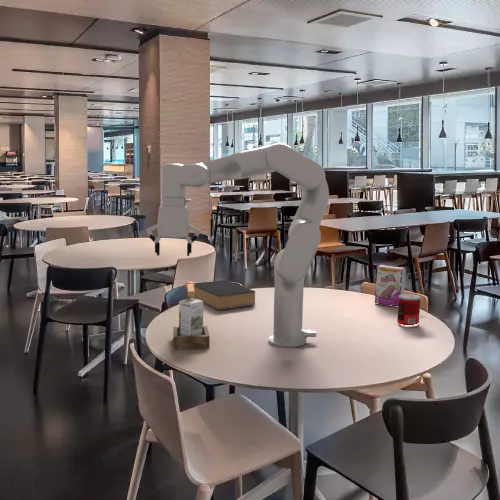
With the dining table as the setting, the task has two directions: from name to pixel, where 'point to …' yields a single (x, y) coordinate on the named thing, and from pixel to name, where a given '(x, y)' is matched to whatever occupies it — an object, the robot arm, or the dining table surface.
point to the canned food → (408, 309)
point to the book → (224, 294)
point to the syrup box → (190, 317)
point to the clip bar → (190, 288)
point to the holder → (191, 338)
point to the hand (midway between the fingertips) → (173, 255)
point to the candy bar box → (389, 284)
